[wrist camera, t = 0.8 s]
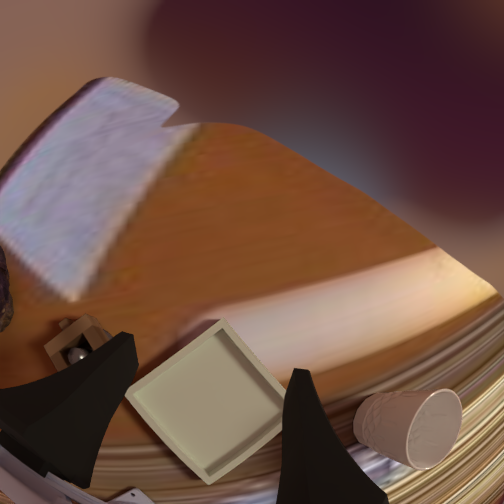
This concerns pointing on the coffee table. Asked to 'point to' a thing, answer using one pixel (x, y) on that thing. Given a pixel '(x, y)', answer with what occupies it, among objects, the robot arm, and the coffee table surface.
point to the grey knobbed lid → (82, 350)
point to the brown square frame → (74, 339)
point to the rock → (4, 294)
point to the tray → (211, 402)
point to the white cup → (410, 425)
